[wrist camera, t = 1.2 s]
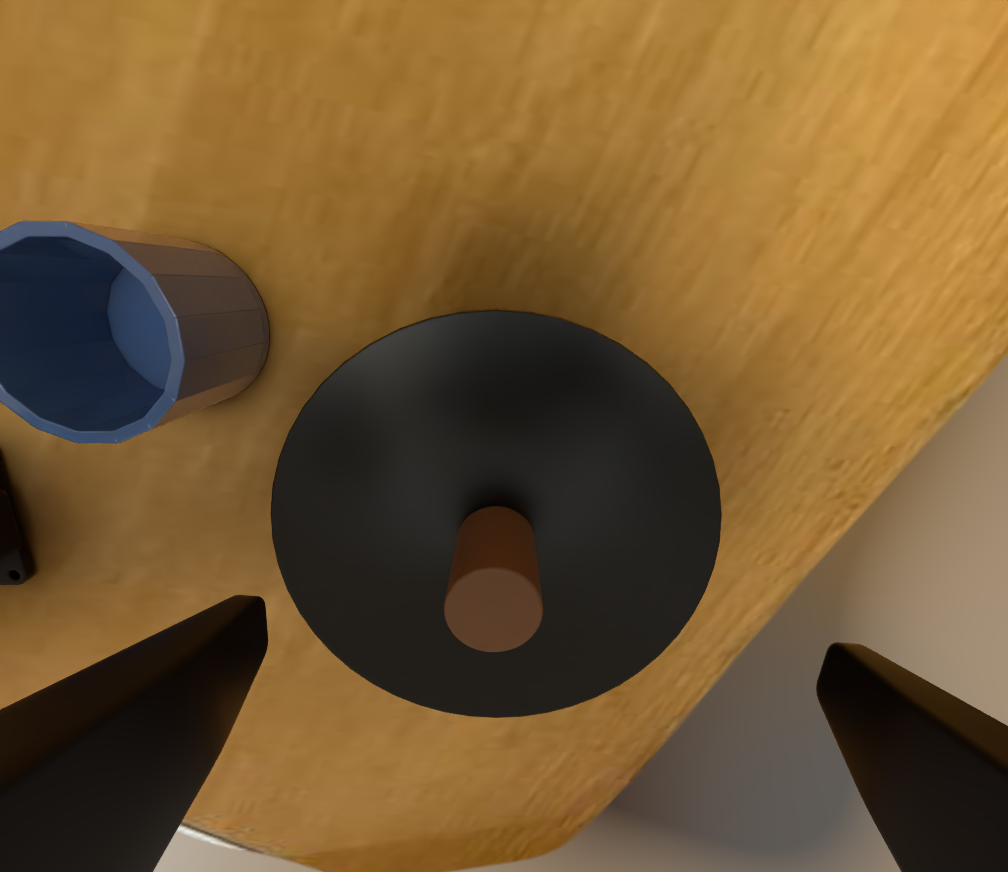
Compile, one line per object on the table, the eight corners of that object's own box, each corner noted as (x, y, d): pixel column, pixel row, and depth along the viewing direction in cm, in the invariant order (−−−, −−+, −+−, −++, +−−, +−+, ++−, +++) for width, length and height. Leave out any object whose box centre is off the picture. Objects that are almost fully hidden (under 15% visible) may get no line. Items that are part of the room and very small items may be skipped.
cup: (127, 402, 20) (-7, 443, 15) (90, 238, 18) (-75, 220, 13) (279, 402, 20) (200, 444, 15) (258, 239, 18) (159, 221, 13)
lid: (683, 694, 18) (740, 823, 14) (309, 693, 18) (247, 820, 14) (736, 309, 14) (837, 319, 10) (257, 306, 14) (148, 316, 10)
